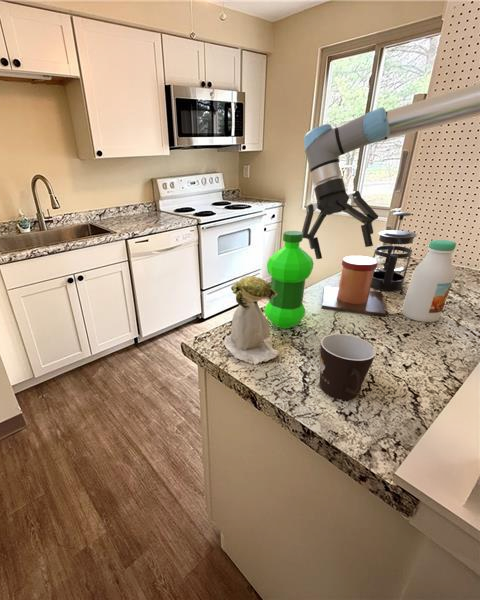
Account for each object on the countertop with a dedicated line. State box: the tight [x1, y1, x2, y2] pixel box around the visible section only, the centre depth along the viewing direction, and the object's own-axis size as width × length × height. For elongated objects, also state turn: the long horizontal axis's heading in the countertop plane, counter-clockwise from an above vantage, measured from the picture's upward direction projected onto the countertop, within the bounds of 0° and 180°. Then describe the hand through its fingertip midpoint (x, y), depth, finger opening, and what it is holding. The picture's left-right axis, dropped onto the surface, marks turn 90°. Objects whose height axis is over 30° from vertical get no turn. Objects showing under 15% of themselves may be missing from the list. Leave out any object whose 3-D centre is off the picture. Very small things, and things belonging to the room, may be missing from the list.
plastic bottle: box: [264, 230, 314, 329], centre depth 79 cm, size 10×10×25 cm
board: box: [320, 285, 387, 318], centre depth 92 cm, size 15×15×1 cm
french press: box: [370, 211, 418, 292], centre depth 94 cm, size 12×9×23 cm
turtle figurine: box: [223, 275, 280, 366], centre depth 72 cm, size 12×13×18 cm
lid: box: [341, 255, 379, 271], centre depth 87 cm, size 8×8×2 cm
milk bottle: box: [401, 239, 457, 323], centre depth 77 cm, size 8×8×20 cm
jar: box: [337, 266, 376, 304], centre depth 89 cm, size 8×8×12 cm
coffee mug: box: [319, 333, 377, 401], centre depth 58 cm, size 12×9×10 cm
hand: (343, 252), depth 92 cm, fingers open, 13 cm apart
